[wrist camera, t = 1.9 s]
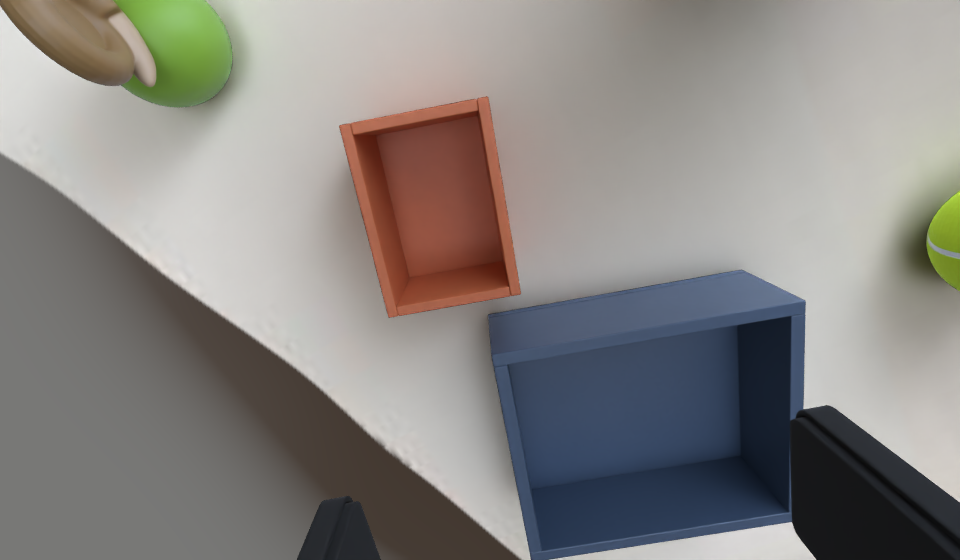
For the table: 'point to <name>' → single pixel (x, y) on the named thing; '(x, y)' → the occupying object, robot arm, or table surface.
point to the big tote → (651, 411)
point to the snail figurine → (133, 44)
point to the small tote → (433, 206)
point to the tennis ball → (946, 241)
